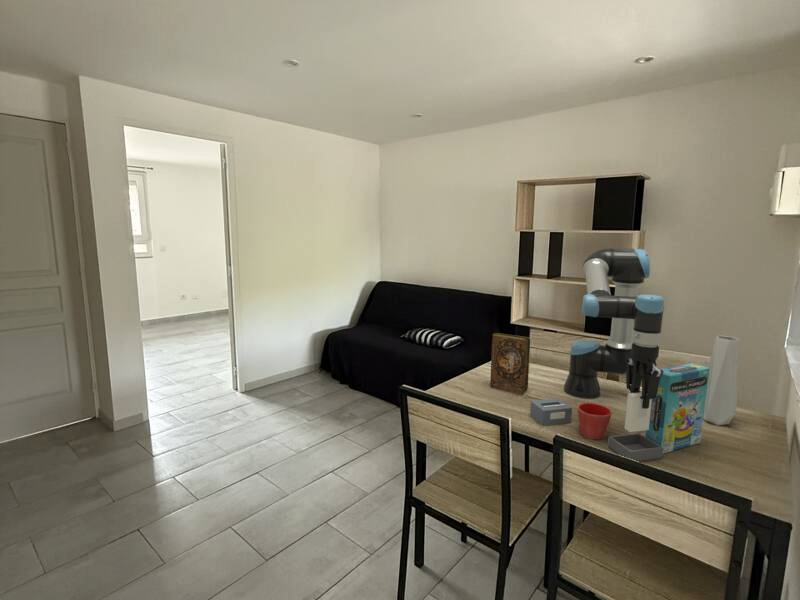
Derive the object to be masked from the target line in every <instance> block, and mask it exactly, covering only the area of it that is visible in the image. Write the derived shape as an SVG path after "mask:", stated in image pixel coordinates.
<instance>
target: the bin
mask: <svg viewBox="0 0 800 600" xmlns="http://www.w3.org/2000/svg"><path fill="white" fill-rule="evenodd" d="M607 448H608V449H609V450H610V451H611V452H612V453H614V454H616V455H617V454H619V455H621V456H624V457H627V458H630V459H633V460H636V461H639V462H638V463H643V462H651V461H657V460H662V459H663V455H664V454H663V447H661V446H660V445H658V444H656V443H655V442H653V441H652V440H650V439H648V438H647V437H645V435H644V434H642V433H641V432H637V433H627V434H621V435H619V434H618V435H612V436H611V435H610V436H609V435H608V440H607ZM619 455H618V456H619Z"/></svg>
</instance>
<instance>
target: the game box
mask: <svg viewBox="0 0 800 600" xmlns="http://www.w3.org/2000/svg"><path fill="white" fill-rule="evenodd" d="M658 369H659V370H662V371H663V374H662V376H661V377H660V382H659V386H658V391H657V396H656V398H655V399H652V403H651V412H650V422H649V430H645V435H644V436H645V437H647V438H648V439H650V440H652V441H653V442H655V443H656V444H658V445H660V446H661V447H663V454H662V455H664V454H666V453H670V452H673V451H676V450H679V449H680V450H681V449H683V448H687V447H691V446H694V445H697V444H700V443H701V437H702V432H703V431H702V430H703V423H704V418H703V416H704V409H705V400H706V393H707V384H708V377H709V369H710V368H708V366H705V365H702V364H697V363H694V362H690V363H686V364H681V365H675V366H669V367H665V368H658Z"/></svg>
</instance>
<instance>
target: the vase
mask: <svg viewBox="0 0 800 600" xmlns="http://www.w3.org/2000/svg"><path fill="white" fill-rule="evenodd" d="M739 361H740V339H739V338H737V337H735V336H728V335H717V336H716V338H715V342H714V345H713V348H712V352H711V355H710V357H709V362H708V365H707V367H708V368H710V369H709V377H708V384H707V393H706V400H705V409H704V416H703V421H706V422H708V423H711V424H714V425H716V426H726V424H727V425H729V424H730V423H731V421H732V420H733V417H734V415H735V413H736V411H737V405H738V386H739V363H740V362H739Z"/></svg>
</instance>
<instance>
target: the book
mask: <svg viewBox="0 0 800 600" xmlns="http://www.w3.org/2000/svg"><path fill="white" fill-rule="evenodd" d="M491 337H492V338H491V356H490V357H491V360H490V361H491V362H490V386H489V387H490V389H494V390H500V391H504V392H507V393H513V394H517V395H524V393H525V392H526V391H527V390H528V388H529V376H530V375H529V374H530V371H529V370H530V355H531V353H530V352H531V351H530V350H531V337H528V336H522V335H521V336H520V335H515V334H514V335H513V334H508V333H507V334H506V333H500V332H496V333H495V332H494V333H492V334H491Z"/></svg>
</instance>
